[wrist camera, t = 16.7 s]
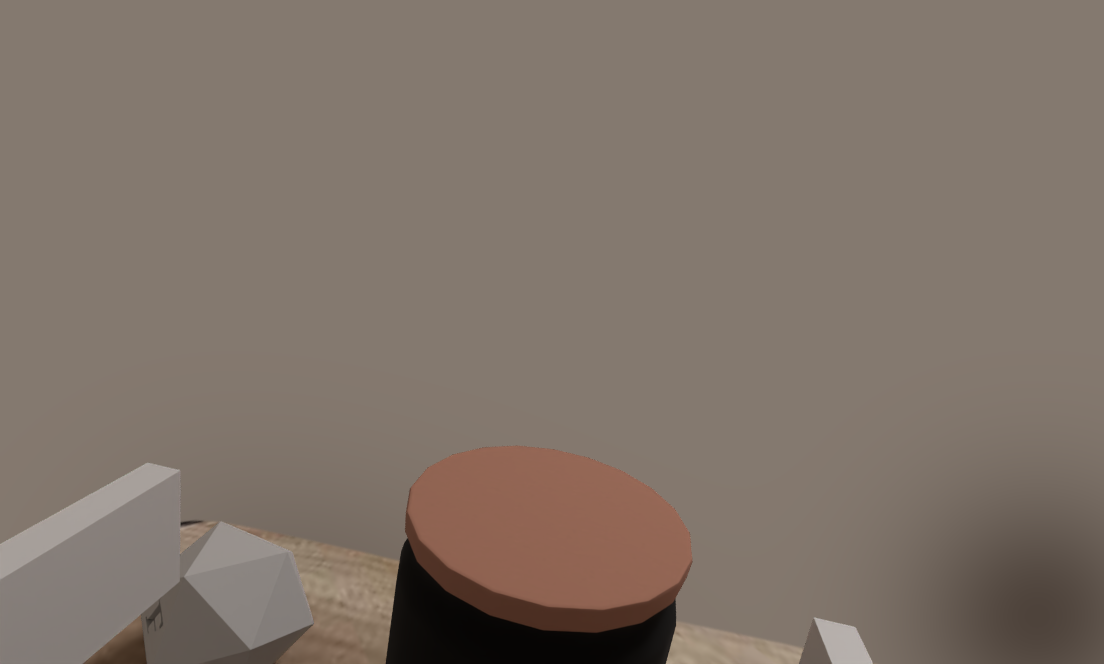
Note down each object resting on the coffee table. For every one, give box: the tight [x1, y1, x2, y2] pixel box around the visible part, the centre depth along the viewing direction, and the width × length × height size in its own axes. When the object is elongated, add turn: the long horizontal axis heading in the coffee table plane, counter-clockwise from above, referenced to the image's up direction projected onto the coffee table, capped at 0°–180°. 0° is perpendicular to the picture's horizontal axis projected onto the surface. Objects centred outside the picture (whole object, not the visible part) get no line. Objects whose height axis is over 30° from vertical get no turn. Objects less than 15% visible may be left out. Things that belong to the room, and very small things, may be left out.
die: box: [141, 521, 314, 664], centre depth 35 cm, size 8×9×10 cm
